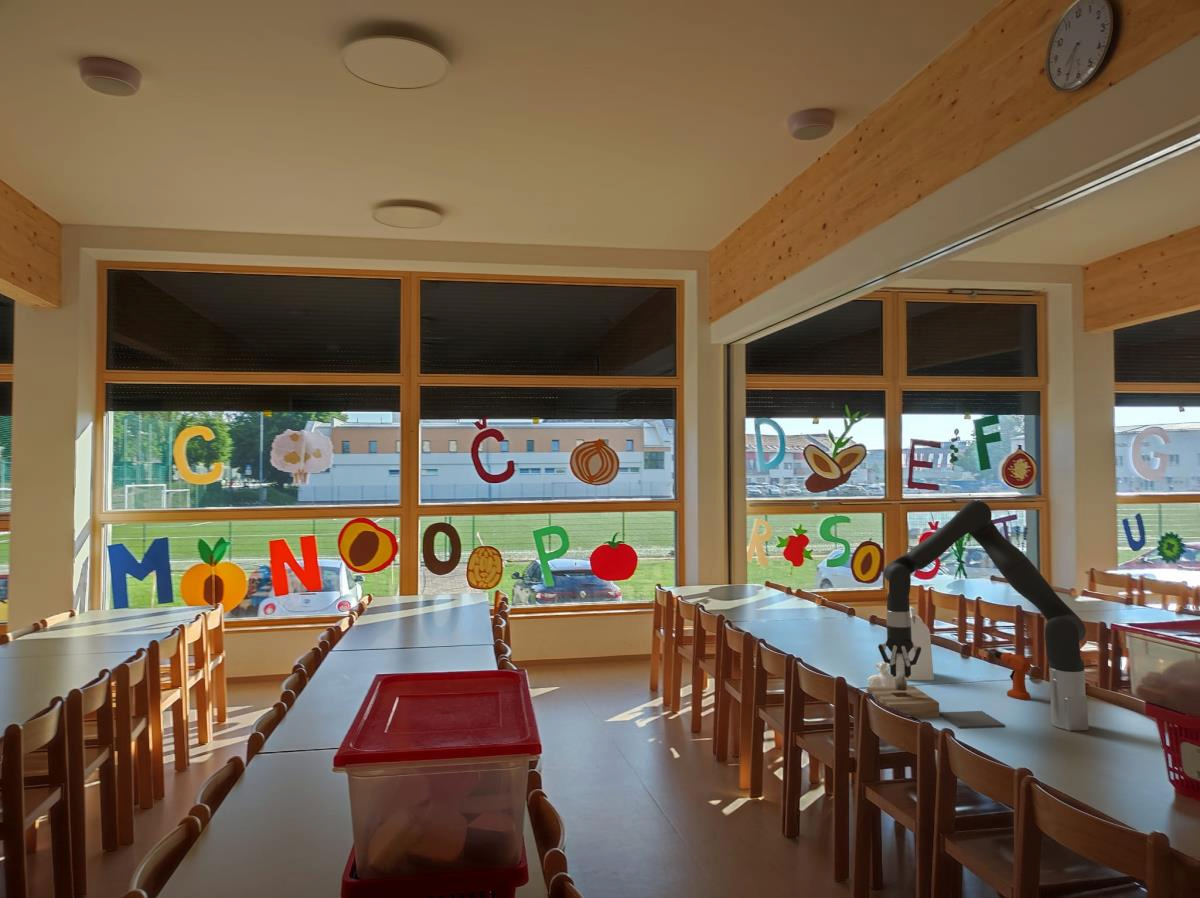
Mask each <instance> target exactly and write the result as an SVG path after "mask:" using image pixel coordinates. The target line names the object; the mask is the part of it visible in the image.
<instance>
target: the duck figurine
mask: <svg viewBox="0 0 1200 898" xmlns="http://www.w3.org/2000/svg"><path fill="white" fill-rule="evenodd" d="M874 666H875V667H876V668H877V669H876V671H879V672H878V674H873V675H872V676H869V677H868V678H867V684H868V687H890V686H895V677H893V675H891V673H889V672H890V664H888V663H885V662H884V660H882V661H879V662H878V663H875V665H874Z"/></svg>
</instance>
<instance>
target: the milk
mask: <svg viewBox="0 0 1200 898" xmlns="http://www.w3.org/2000/svg"><path fill="white" fill-rule="evenodd" d="M910 616H911V637H912V642H913V645H916V646H920V647H921V652H920V655H919V657H918V660H917V663H916V664H915V665H912V666H911V675H910V676H909V678H907V681H926V680H927V681H932V680H935V677H934V676H935V675H934V668H933V667H934V665H933V664H934V663H933V654H932V653H933V652H932V642H931V641H932V640H931V631H930V628H929V626H928V625H927V624H925V623H924V621H923V619H922V617H920V616H919V615H916V610H915V608H914V607H913V606H911V605H910ZM908 654H909V659H910V661H912V660H913V658H914V656H915V652H914V649H913V648H912V649H911V650H910V652H909V653H908ZM894 664H895V662H894Z"/></svg>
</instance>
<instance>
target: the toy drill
mask: <svg viewBox="0 0 1200 898" xmlns="http://www.w3.org/2000/svg"><path fill="white" fill-rule="evenodd" d="M983 651H985V652H986V653H989V654H992V655H994V657H995V658H996V659H998V660H1000V662H1002V663H1003V664H1004V665H1006V666H1008V667H1009V668H1010V669H1011V674H1010V675H1009V678H1010V679H1011V680H1012V689H1009V690H1008V691H1006V696H1008V697H1010V698H1013V699H1017V700H1023V701H1028V700H1031V694H1030V692H1028V691H1027V687H1026V680H1025V679H1026V674H1028V673H1029V671H1030V670H1031V667H1032V664H1031V663H1030V660H1028V658H1026V657H1025V656H1024V655H1023V654H1015V653H1014V654H1013V653H1012V652H1002V651H999V650H997V651H993V650H991V649H988V648H984V650H983Z"/></svg>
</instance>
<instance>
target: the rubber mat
mask: <svg viewBox="0 0 1200 898" xmlns="http://www.w3.org/2000/svg"><path fill="white" fill-rule="evenodd" d="M939 715H941V716H940V717H942V718H943V717H944V719H945V720H946V719H947V721H948V722H949V721H950V722H949V723H951V724H952V725H954V726H957V727H956V728H958V729H980V728H981V729H982V728H1005V727H1006V724H1005V723H1003V722H1001V721H999V720H998V719H996V718H994V717H993V716H991V715H989V714H987V713H986V712H985V711H983V710H973V711H970V710H969V711H965V710H964V711H941V712H940V711H939Z"/></svg>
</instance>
